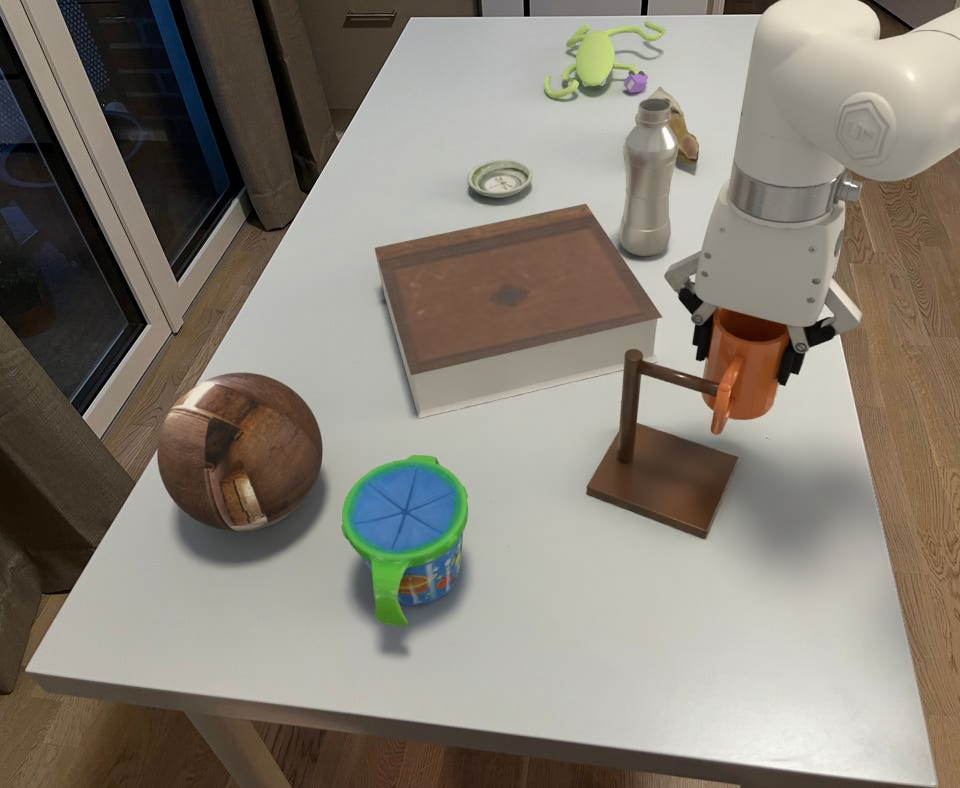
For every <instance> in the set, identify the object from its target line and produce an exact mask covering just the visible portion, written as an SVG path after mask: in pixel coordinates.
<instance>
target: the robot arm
mask: <svg viewBox="0 0 960 788" xmlns="http://www.w3.org/2000/svg"><path fill="white" fill-rule="evenodd" d="M880 37H881V24H880V20H879V18H878V15H877V13H876V12H875V11H874V10H873V9H872V8H871V7H870V5H867V3H864V2H862V1H861V0H778V1H777V2H775V3H773V4H772V5H769V7H768V8H767V9H766V10H765V11H764V12H763V13H762V14H761V16H760V17H759V19H758V22H757V24H756V26H755V29H754V34H753V38H752V43H751V49H750V54H749V55H750V56H749V60H748V61H749V62H748V66H747V67H748V68H747V74H746V80H745V86H744V93H743V98H742V104H741V111H740V116H739V123H738V129H737V135H736V141H735V147H734V154H733V158H732V159H733V160H732V166H731V170H730V171H731V172H730V178H728V179H727V180H725V182H724V183H723V184H722V186H721V188H720V190H719V193H718V195H717V198H716V200H715V203H714V206H713V208H712V211H711V214H710V216H709V219H708V224H707V226H706V230H705V233H704V238H703V242H702V246H701V250H698V251H697V252H695V253H693V254H691V255H689V256H687V257H685V258H682V259H681V260H679V261H677V262H675V263H672V264H671V265H670V266H669V267H668V269H667V270H666V272H665V273H664V279H665V281H666V282H667V284H668V285H669V286H670V287H671V289H672V290H673V291H674V292H675V293H676V294H677V298H678V300H679V302H680V303H681V304H682V305H683V306H684V308H685V309H686V310H687V311H688V312H689V313H690V315H691V317H690V321H691V323H692V324H694V329H693V335H692V341H691V342H692V343H691V346H695V347H697V348H696V353H695V361H698V362H705V361H706V355H707V349H708V343H709V337H710V331H711V326H712V319H713V314H714V312H715V310H716V309H717V308H718V307H721V308H725V309H728V310H732V311H736V312H740V313H743V314H747V315H751V316H755V317H758V318H762V319H766V320H770V321H774V322H778V323H782V324H786V325H787V328H788V331H789V335H790V338H791V340H790V342H789V345H788V346H787V349H786V351H785V355H784V358H783V362H782V366H781V370H780V374H779V377H778V381H777V382H778V383H779V386H783V387H786V386H787V383H788V381H789V379H790V376H791V374H792V375H797V376H799V374H800V372H801V370H802V367H803V363H804V360H805V357H806V354H807V353H808V351H809V350H810V349H811V348H813V347H815V346H819V345H821V344H824V343H826V342H829V341H832V340H833V339H834V338H835V337H837V336H840V335H843V334H846V333H847V332H850V331H853V330H855V329H857V328H858V327H859V326H860V324H861V321H862V318H863V312H862V311H861V309H859V308H858V306H857V305H856V304H855V303H854V301H853V300H852V299H851V298H850V296H848V294H847V293H846V292H845V291H844V290H843V289H842V287H841V286H840V284H838V283H837V281H836V280H835V278H836V277H835V276H836V272H837V269H838V268H837V267H838V264H839V260H840V254H841V249H842V244H843V239H844V232H845V223H846V201H851V202H858V200H859V198H860V195H861V191H862V189H863V184H864V182H861V181H856V180H853V178H852V177H851V178H850V177H848V175H849V174H848V172H845V171H846V169H848V170H850V171H851V172H853V173H855V174H857V176H861V177H863V178H865V179H869V180H871V181H872V180H873V181H876V182H877V181H878V182H898V181H902V180H905V179H908V178H912V177H914V176H916V175H918V174H920V173H922V172H924V171H926V170H928V169H929V168H931V167H932V166H934V165H935V164H937V163H938V162H940V161H941V160H943V159H945V158H946V157H948V156H949V155H951V154H953V153H954V152H955V151H957V150H959V149H960V7H957V8H955V9H953V10H951V11H949V12H947V13H945V14H942V15H941V16H938V17H935V18H934V19H932V20H930V21H928V22H926V23H924V24H922V25H920V26H918V27H916V28H914V29H912V30H910V31H907V32H906V33H904V34H901V35H896V36H891V37H886V38H882V39H880ZM693 275H695V278H694V281H692V279H691V278H690V277H691V276H693ZM824 306H826V307H827V308H828V309H829V311H830V312H831V313H832V314H833V316H826V317H824V318H822V319H820V315H821V314H822V312H823V309H824Z"/></svg>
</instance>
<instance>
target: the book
mask: <svg viewBox="0 0 960 788" xmlns="http://www.w3.org/2000/svg"><path fill="white" fill-rule="evenodd" d="M374 252H375V257H376V262H377V268H378V271H379V276H380V277H379V278H380V283H381V287H382V292H383V295H384V298H385V302H386V305H387V309H388V312H389V317H390V320H391V323H392V327H393V330H394V335H395V338H396V341H397V344H398V345H397V346H398V348H399V352H400V356H401V359H402V363H403V366H404V370H405V373H406V377H407V382H408V384H409V388H410V391H411V395H412V398H413V402H414V406H415V410H416V413H417V417H418V419H423V418H426V417H430V416H434V415H438V414H443V413H446V412H451V411H456V410H460V409H464V408H469V407H472V406H476V405H481V404H485V403H489V402H493V401H498V400H503V399H506V398H509V397H515V396H518V395H522V394H527V393H532V392H537V391H540V390H544V389H548V388H552V387H557V386H561V385H565V384H570V383H574V382H578V381H582V380H586V379H590V378H595V377H600V376H604V375H608V374H611V373H616V372H619V371H624V357H625V352H626V351H627V350H630V349H637V350H640V351H641V352H642V353H643V361H647V362H650V363H653V364H655V363H658V359H657V358H656V356H655V355H654V351H655V342H656V341H655V340H656V331H657V325H658V319H662V318H663V315H662V314H661V312H660V311H659V310H658V308H657V306H656V305H655V303H654V302H653V301H652V299H651V298H650V296H649V295H648V293H647V292H646V290H645V289H644V287H643V286H642V284H641V282H640V281H639V280H638V278H637V277H636V275H635V274H634V273H633V271H632V270H631V267H630V266H629V265H628V264H627V262H626V260H625V259H624V258H623V256H622V255H621V253H620V251H619V250H618V249H617V247H616V246H615V244H614V243H613V242H612V240H611V239H610V236H609V235H608V234H607V232H606V231H605V229H604V228H603V226H602V225H601V223H600V222H599V221H598V219H597V217H596V216H595V215H594V213H593V212H592V210H591V209H590V206H588V205H587V203H582V204H578V205H573V206H569V207H568V206H567V207H564V208H563V207H562V208H559V209H554V210H550V211H549V210H547V211H544V212H540V213H535V214H534V213H533V214H530V215H526V216H525V215H524V216H520V217H516V218H511V219H510V218H509V219H506V220H500V221H495V222H491V223H486V224H482V225H477V226H473V227H468V228H462V229H458V230H452V231H448V232H443V233H438V234H433V235H429V236H424V237H420V238H415V239H409V240H405V241H399V242H395V243H390V244H385V245H381V246H376V247H374Z"/></svg>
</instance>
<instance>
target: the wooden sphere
mask: <svg viewBox="0 0 960 788" xmlns="http://www.w3.org/2000/svg"><path fill="white" fill-rule="evenodd" d="M160 428H161V429H160V432H159V436H158V439H157V440H158V441H157V450H156V457H157V458H156V459H157V466H158V472H159V475H160V478H161V481H162V484H163V486H164V487H165V490H166V491H167V493H168V495H169V497H170V499H172V501H173V502H174V504H176V505H177V506H178V507H179V509H180V510H181V511H183V512H184V513H185V514H186V515H188V516H189V517H190V518H192V519H194V520H195V521H197V522H199V523H201V524H203V525H205V526H207V527H210V528H213V529H216V530H221V531H226V532H249V531H255V530H256V531H257V530H261V529H263V528H266V527H267V528H268V527H269V526H273V525H274V524H277V523H278V522H281V521H282V520H283V519H285V518H287V517H288V516H289V515H291V514H292V513H293V512H295V511H296V510H297V509H298V508H299V507H300V506H301V505H303V503H304V502H305V501H306V499H307V498H308V496H309V495H310V493H311V492H312V490H313V488H314V487H315V485H316V483H317V481H318V478H319V475H320V471H321V467H322V463H323V453H324V452H323V451H324V450H323V438H322V433H321V429H320V426H319V423H318V421H317V417H316V416H315V414H314V413H313V411H312V409H311V407H309V405H308V404H307V402H306V401H305V400H304V398H302V396H301V395H299V394H298V393H297V392H296V391H295V390H294V389H292V388H291V387H289V386H288V385H286V384H285V383H283V382H281V381H279V380H277V379H275V378H273V377H270V376H267V375H263V374H259V373H255V372H254V373H253V372H231V373H224V374H219V375H216V376H213V377H211V378H208V379H206V380H204V381H201V382H199V383H197V384H196V385H195V386H193V387H192V388H190V389H189V390H187V391H186V392H185V393H184V394H183V395H182V396H181V397H180V398H179V399H178V400H177V401H176V402H175V403H174V405H173V406H172V407H171V409H170V410H169V412H168V413H167V415H166V417H165V419H164V421H163V423H162V425H161V427H160Z"/></svg>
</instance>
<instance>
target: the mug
mask: <svg viewBox="0 0 960 788" xmlns="http://www.w3.org/2000/svg"><path fill="white" fill-rule="evenodd" d="M790 340H791V338H790V335H789V331H788V328H787V325H786V324H782V323H778V322H774V321H770V320H766V319H762V318H758V317H755V316H751V315H747V314H743V313H740V312H736V311H732V310H728V309H725V308H721V307H718V308H717V309H716V310H715V312H714V314H713V319H712V326H711V331H710V337H709V343H708V349H707V355H706V358H705V360H704V367H703V373H702V378H704V379H707V380H710V381H714V382H717V383H720V384H719V386H718V391H717V397H714V396H711V395H708V394H705V393H701V392H700V393H701V397H702V400H703V402H704V403H705V404H706V406H707V407H708V408H709V409H710V410H712V411H713V413H712V419H711V423H710V432H711V434H712V435H714V436H719V435H721V434H722V433H723V431H724V429H725V427H726V424H727V422H728V420H729V419H730V420H738V421H751V420H755V419H758V418H761V417H763V416H765V415H766V414H768V413H769V412H770V411H771V409H772V408H773V406H774V404H775V401H776V398H777V394H778V391H779V388H780V385H779V383H778V382H777V381H778V377H779V374H780V370H781V366H782V362H783V358H784V355H785V351H786V349H787V346H788V345H789V342H790Z"/></svg>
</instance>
